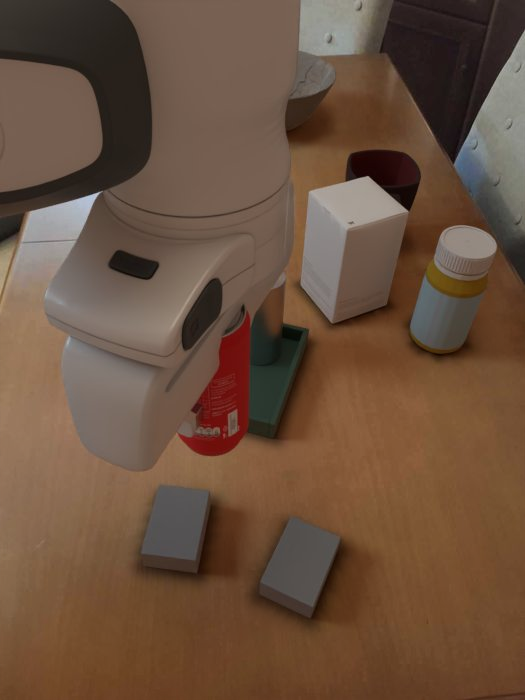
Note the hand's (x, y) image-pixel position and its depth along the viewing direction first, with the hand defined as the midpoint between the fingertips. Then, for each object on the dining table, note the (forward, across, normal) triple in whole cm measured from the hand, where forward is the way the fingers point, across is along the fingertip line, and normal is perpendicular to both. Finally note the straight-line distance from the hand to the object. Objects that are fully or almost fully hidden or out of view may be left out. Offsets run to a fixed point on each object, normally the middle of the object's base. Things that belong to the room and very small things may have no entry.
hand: (209, 390), depth 40 cm
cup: (+23, -51, 0) cm, 56 cm away
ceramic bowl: (+23, -80, -29) cm, 88 cm away
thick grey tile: (+23, +1, -4) cm, 23 cm away
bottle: (+23, -36, +13) cm, 45 cm away
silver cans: (+22, -24, -10) cm, 34 cm away
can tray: (+23, -20, -9) cm, 32 cm away
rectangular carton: (+23, -39, -1) cm, 45 cm away
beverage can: (+5, 0, 0) cm, 5 cm away
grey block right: (+23, -1, +8) cm, 24 cm away
